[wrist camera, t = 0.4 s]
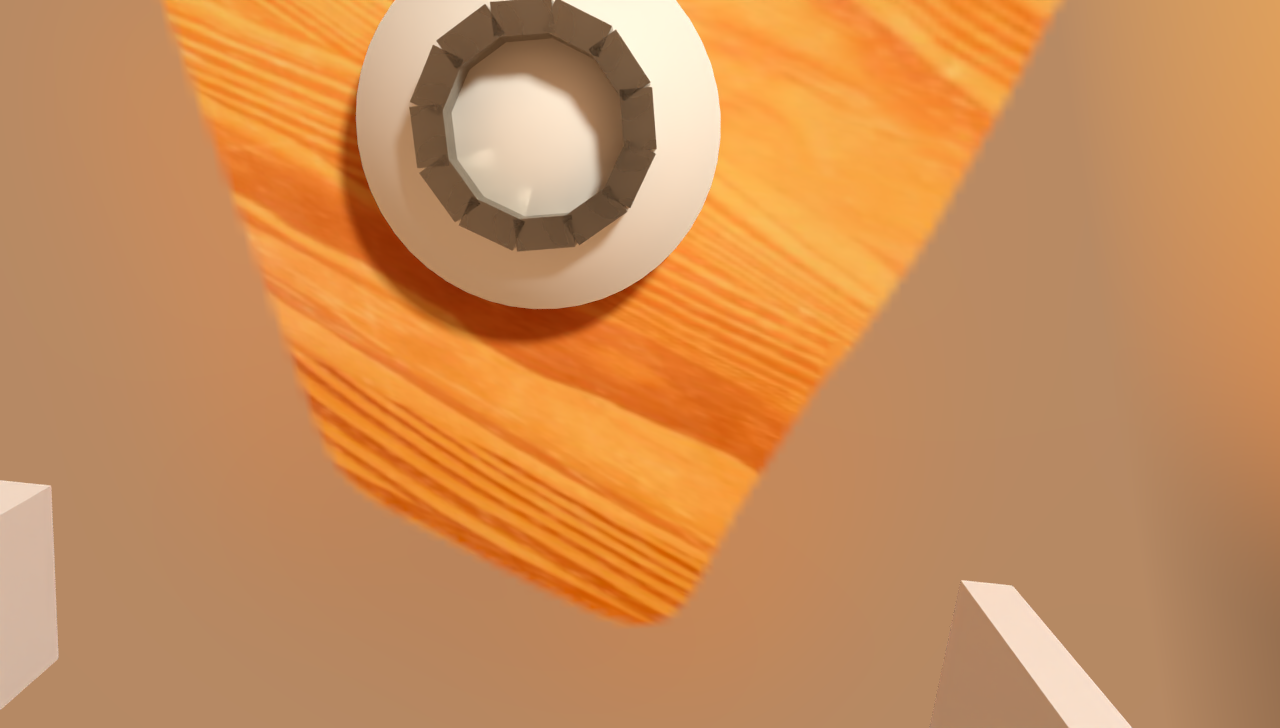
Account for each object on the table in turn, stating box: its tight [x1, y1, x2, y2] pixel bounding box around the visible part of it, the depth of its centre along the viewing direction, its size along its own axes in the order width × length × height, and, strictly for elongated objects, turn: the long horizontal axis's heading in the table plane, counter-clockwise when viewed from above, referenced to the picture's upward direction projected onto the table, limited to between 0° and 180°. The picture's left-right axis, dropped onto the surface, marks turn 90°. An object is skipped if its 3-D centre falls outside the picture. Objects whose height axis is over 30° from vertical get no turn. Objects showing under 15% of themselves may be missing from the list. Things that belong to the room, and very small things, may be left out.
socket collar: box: [409, 0, 657, 251], centre depth 34 cm, size 9×9×2 cm
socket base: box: [356, 0, 720, 309], centre depth 36 cm, size 14×14×2 cm
